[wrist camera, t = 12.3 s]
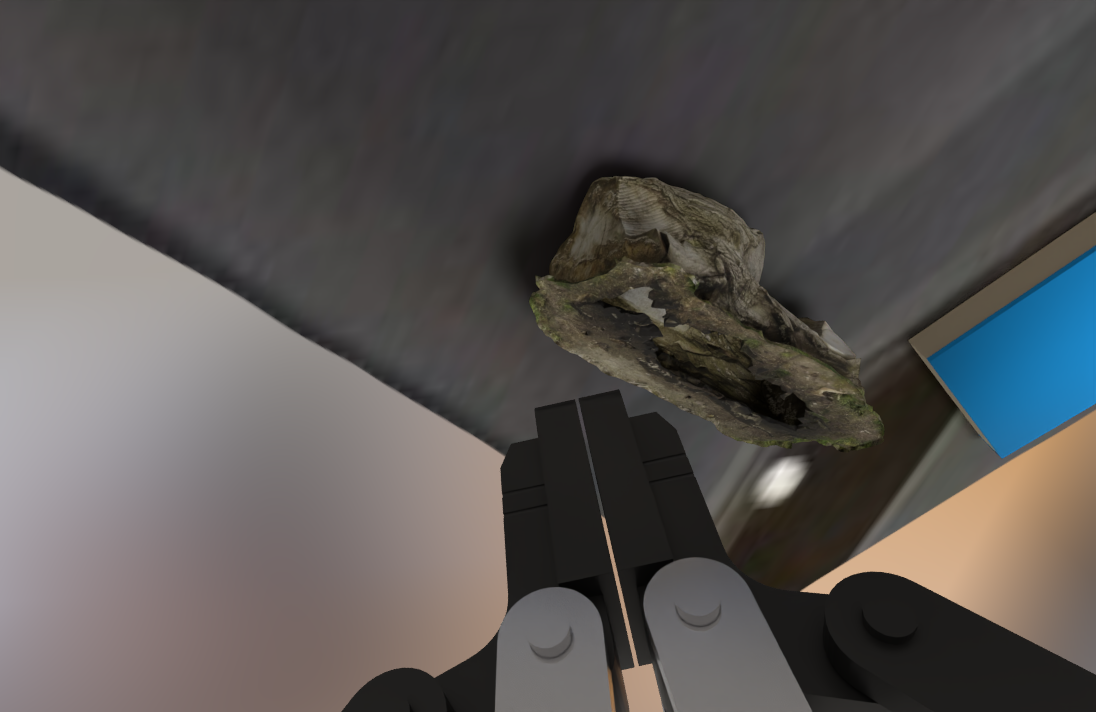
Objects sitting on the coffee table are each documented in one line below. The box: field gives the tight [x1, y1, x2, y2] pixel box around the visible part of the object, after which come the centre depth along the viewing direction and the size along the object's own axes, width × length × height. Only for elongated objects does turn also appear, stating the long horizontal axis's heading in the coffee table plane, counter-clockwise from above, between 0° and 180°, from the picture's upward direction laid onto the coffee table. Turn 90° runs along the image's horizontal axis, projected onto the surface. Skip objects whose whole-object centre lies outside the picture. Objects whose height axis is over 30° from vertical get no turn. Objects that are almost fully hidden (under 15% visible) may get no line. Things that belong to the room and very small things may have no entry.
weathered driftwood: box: [529, 176, 884, 452], centre depth 46 cm, size 28×13×15 cm
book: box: [908, 212, 1096, 458], centre depth 55 cm, size 17×4×25 cm
